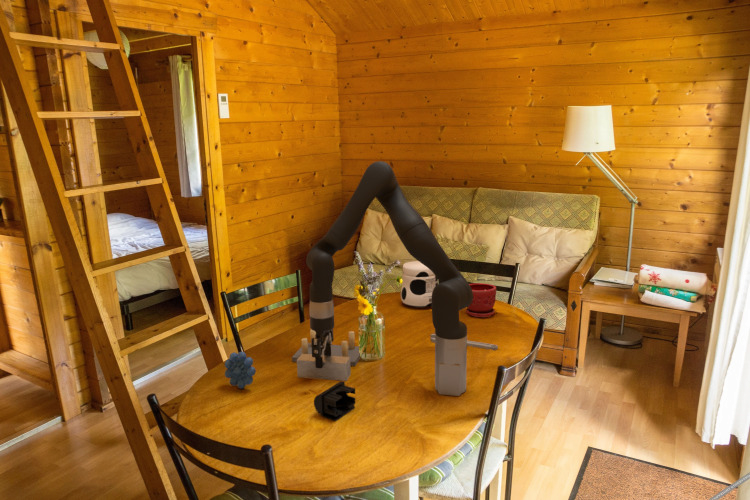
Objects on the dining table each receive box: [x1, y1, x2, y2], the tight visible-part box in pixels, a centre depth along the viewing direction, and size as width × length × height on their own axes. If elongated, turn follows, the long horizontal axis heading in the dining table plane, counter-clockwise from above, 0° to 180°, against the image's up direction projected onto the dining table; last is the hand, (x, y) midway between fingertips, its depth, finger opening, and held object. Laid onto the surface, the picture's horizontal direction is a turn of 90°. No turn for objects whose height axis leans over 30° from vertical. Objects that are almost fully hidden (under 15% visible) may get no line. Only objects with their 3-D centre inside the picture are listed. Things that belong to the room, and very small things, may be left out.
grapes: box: [224, 351, 256, 389], centre depth 167 cm, size 12×7×12 cm, turn 63°
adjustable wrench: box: [430, 333, 499, 351], centre depth 197 cm, size 25×6×2 cm, turn 59°
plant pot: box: [465, 282, 497, 318], centre depth 228 cm, size 13×13×12 cm
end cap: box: [313, 381, 356, 422], centre depth 152 cm, size 10×7×7 cm
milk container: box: [400, 260, 439, 309], centre depth 242 cm, size 17×17×18 cm
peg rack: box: [291, 328, 361, 367], centre depth 189 cm, size 13×22×8 cm, turn 77°
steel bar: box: [296, 354, 352, 382], centre depth 174 cm, size 5×16×6 cm, turn 77°
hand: (323, 362), depth 174 cm, fingers open, 8 cm apart
